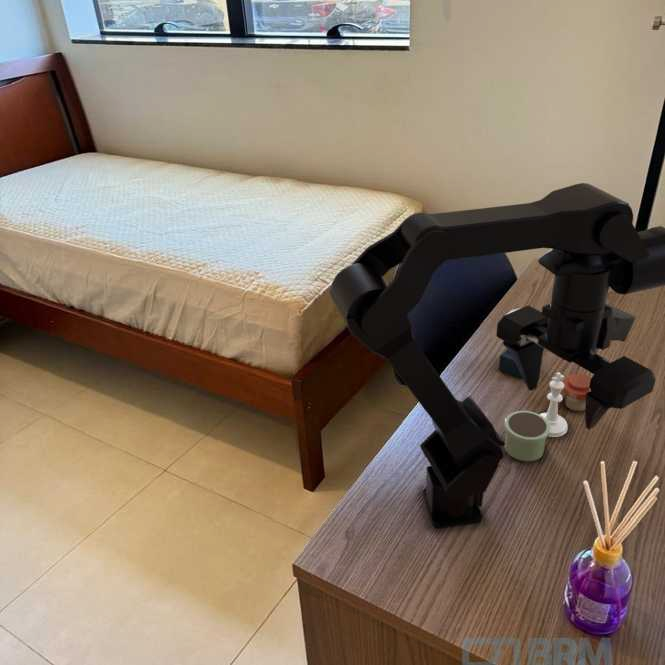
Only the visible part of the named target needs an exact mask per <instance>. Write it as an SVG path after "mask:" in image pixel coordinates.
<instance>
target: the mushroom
mask: <svg viewBox="0 0 665 665" xmlns="http://www.w3.org/2000/svg"><path fill="white" fill-rule="evenodd" d="M591 378H592V377H591V376H589V375H586V374H584V373H573V374H568V375H567V376H564V379H562V381H561V382H562V383H563V384H564V388H563V390H562V391H561V392H562V393H563V394H564V395H565V396H566V398H565V406H566V407H567V409H569V410H572V411H575V412H582V411H585V406H586V393H588V392H590V391H591V389H590V387H589V385H590V380H591Z"/></svg>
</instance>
